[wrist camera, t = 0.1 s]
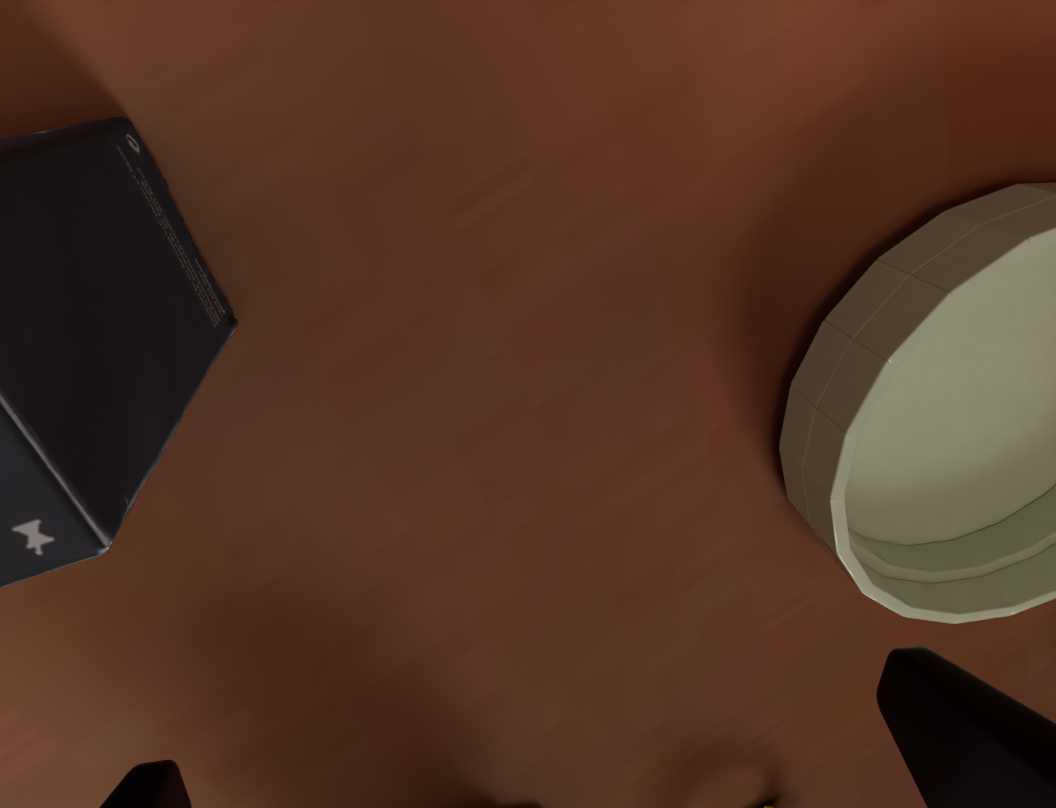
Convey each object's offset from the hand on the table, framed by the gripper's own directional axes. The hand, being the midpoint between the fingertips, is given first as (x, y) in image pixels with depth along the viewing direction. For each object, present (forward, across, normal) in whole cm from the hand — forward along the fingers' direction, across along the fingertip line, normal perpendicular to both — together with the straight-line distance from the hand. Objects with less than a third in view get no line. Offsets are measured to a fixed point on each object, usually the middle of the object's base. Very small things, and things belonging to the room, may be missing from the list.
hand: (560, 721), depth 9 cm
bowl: (+15, -19, +4) cm, 24 cm away
